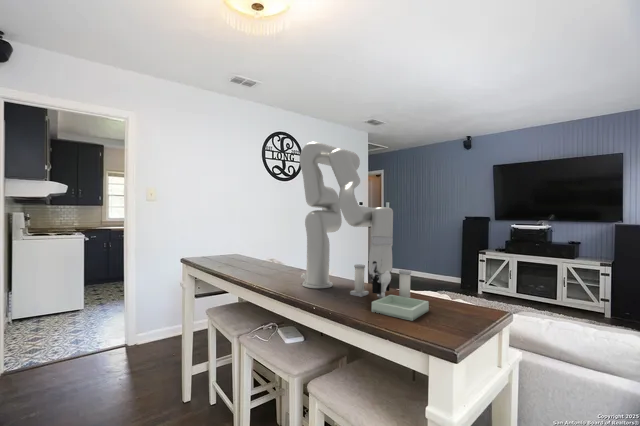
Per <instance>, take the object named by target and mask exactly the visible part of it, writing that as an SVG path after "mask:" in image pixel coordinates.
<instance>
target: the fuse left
mask: <svg viewBox="0 0 640 426" xmlns="http://www.w3.org/2000/svg"><path fill="white" fill-rule="evenodd" d="M365 268H366V264H357V263H356V264H354V289H353V290H351V291H349V295H351V296H355V297H365V296H368V295H369V290H365Z"/></svg>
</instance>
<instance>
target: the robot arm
mask: <svg viewBox="0 0 640 426" xmlns="http://www.w3.org/2000/svg"><path fill="white" fill-rule="evenodd" d="M299 165H300V169H301V174H302V179H303V190H304V196H305V201H306V205H308V206H309V207H311V208H319V209H315V210H312V211H310V212H308V213H307V215H306V216H305V220H304V225H305V232H306V273H303V272H302V274H301V275H300V278H299V279H304V280H303V282H302V286H303V287H304V288H309V289H328V288H331V287H333V282H332V281H330V239H329V236H328V233H335V232H338V230H340V229H341V226H342V223H343V221H342V215H343V217H344V220H345V221H346V223H347V224H348V225H349V226H350V227H354V228H365V227H366V228H368V227H371V236H370V237H371V238H370V239H371V241H370V242H371V243H370V248H369V254H368V255H369V257H368V273H369V276H370V279H371V282H372V286H371V289H372V290H371V291H372V294H376V295H377V294H381V283H380V280H381V274H384V273H385V272H386V271H389V272H390V274H391V273H392V270H393V250H392V248H393V241H394V239H393V235H394V233H393V232H394V231H393V230H394V228H393V227H394V226H393V225H394V223H393V222H394V210H393V209H392V208H391V207H387V206H386V207H385V206H382V207H380V206H379V207H378V206H376V207H369V206H362V205H361V206H360V205H359V203H358V200H357V198H356V195H355V189H356V188H357V187H359V185H361V178H360V176H359V174H358V172H357V171H358V169H359V168H360V165H361V160H360V157H359V155H358V154H357V153H355V152H354V151H351V150H347V149H344V148H338V147H336V146H332V145H329V144H326V143H323V142H319V141H311V142H308V143H306V144H305V145H304V147H302V149H301V151H300V156H299ZM319 165H325V166H329V167H331V169H332V170H331V171H332V172H333V174H334V177H335V179H336V182H337V184H338V186H339V193H338V192H337V191H336V190H335V189H334V188H333V187H330V186H326V185H325V182H324V176H323V173H322V170H321V168H320V166H319ZM376 272H378V273H376ZM376 275H378V278H377V276H376ZM391 275H392V274H391ZM390 284H391V281H390V282H389V284H388V286H387V288H386V292H390V290H391V289H390V287H391V286H390Z"/></svg>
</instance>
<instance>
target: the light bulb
mask: <svg viewBox="0 0 640 426" xmlns="http://www.w3.org/2000/svg"><path fill="white" fill-rule="evenodd" d="M376 273H378V272H376ZM376 276H377V278H378V275H376ZM391 279H392V274H390V272H389V271H386V272H385V273H384V274H381V280H380V283H381V294H376V296H377V298H378V299H380V298H383V297H386V292H387V291H386V288H387V286H388V284H389V282H390V283H391V281H392V280H391Z"/></svg>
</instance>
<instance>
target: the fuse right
mask: <svg viewBox="0 0 640 426" xmlns="http://www.w3.org/2000/svg"><path fill="white" fill-rule="evenodd" d="M398 274H399V279H398V281H399V283H398V284H399V285H398V286H399V289H398V290H399V292H398V296H402V297H407V298H411V275H412V270H408V269H407V270H406V269H400V270H398Z"/></svg>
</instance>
